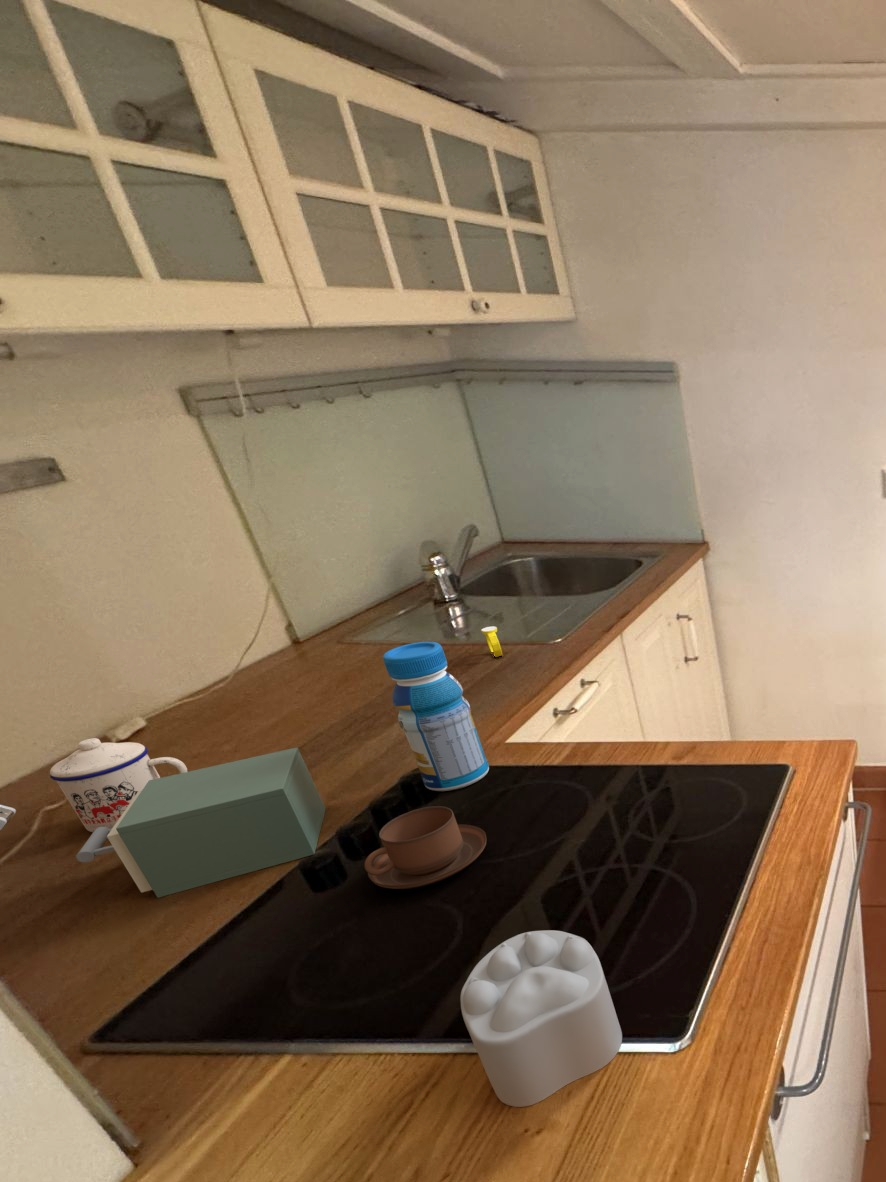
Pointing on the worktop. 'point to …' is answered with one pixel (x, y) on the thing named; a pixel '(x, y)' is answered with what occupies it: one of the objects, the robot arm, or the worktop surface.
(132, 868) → the drawer
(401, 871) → the cup and saucer
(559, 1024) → the lumpy-topped squat cylinder
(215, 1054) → the worktop surface
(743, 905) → the worktop surface
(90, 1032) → the worktop surface
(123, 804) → the teacup with lid
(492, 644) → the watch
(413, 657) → the beverage bottle
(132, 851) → the cabinet
